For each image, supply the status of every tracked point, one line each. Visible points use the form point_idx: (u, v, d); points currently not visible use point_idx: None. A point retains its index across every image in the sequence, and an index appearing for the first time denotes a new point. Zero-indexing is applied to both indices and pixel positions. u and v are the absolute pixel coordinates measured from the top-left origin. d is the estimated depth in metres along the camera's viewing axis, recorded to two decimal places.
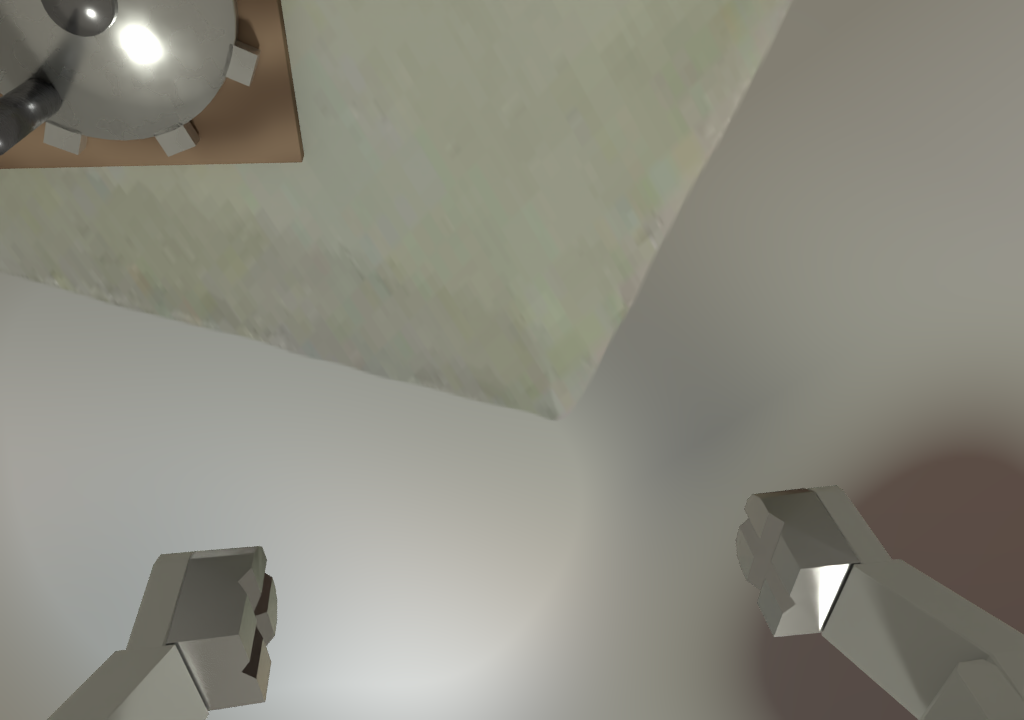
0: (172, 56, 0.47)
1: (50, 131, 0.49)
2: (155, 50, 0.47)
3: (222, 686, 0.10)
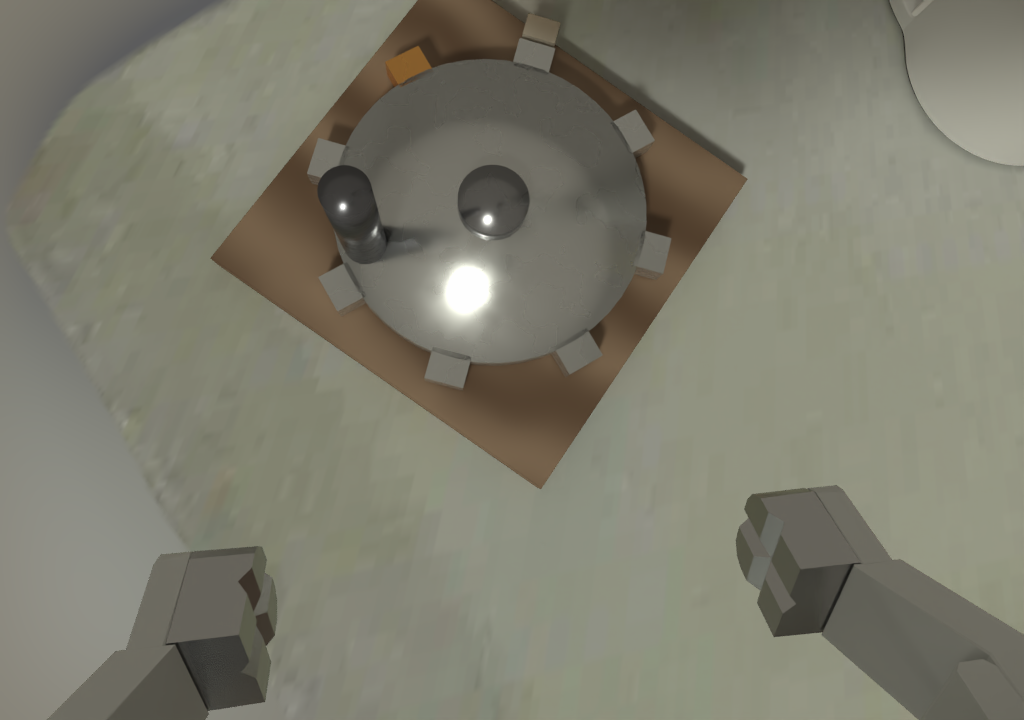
0: (522, 300, 0.40)
1: (336, 273, 0.39)
2: (512, 284, 0.40)
3: (222, 686, 0.10)
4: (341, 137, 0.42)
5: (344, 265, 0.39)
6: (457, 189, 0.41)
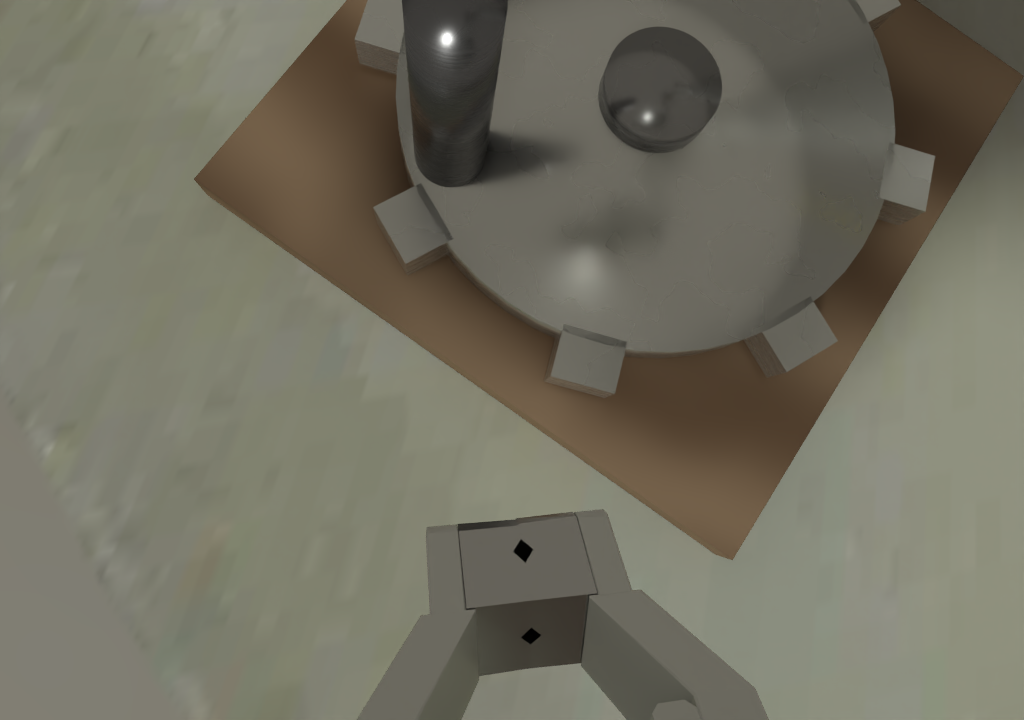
0: (707, 249, 0.24)
1: (403, 202, 0.24)
2: (689, 224, 0.24)
3: (498, 652, 0.11)
4: None
5: (416, 188, 0.24)
6: (597, 71, 0.25)
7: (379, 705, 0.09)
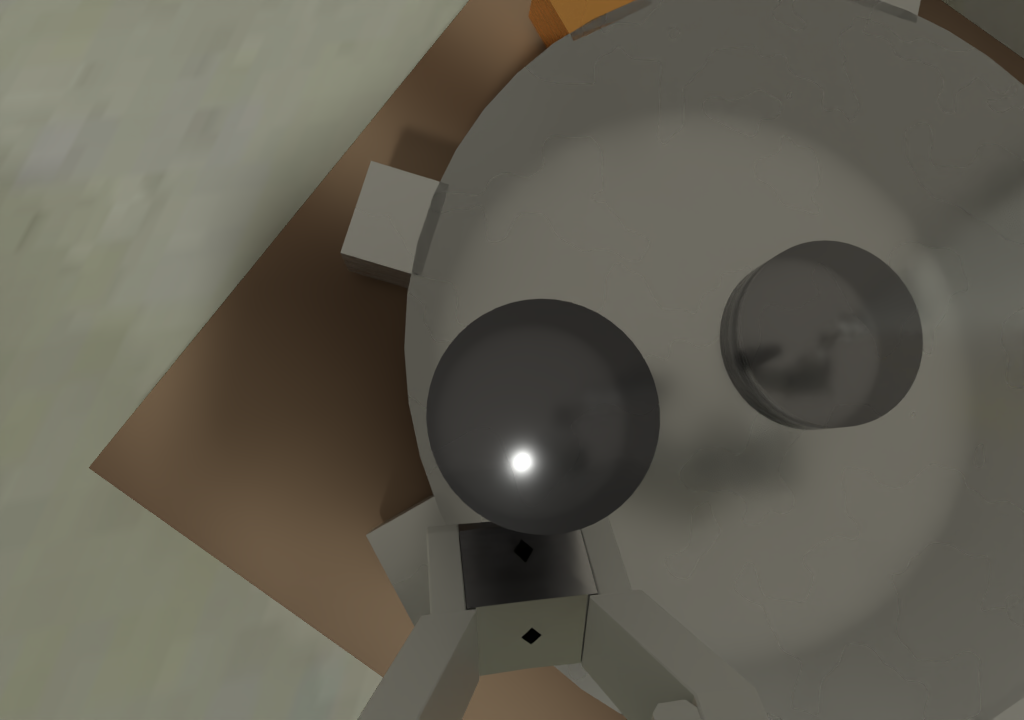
0: (891, 589, 0.16)
1: (415, 524, 0.15)
2: (863, 547, 0.16)
3: (499, 652, 0.11)
4: (418, 162, 0.18)
5: (436, 501, 0.15)
6: (717, 297, 0.16)
7: (380, 705, 0.09)
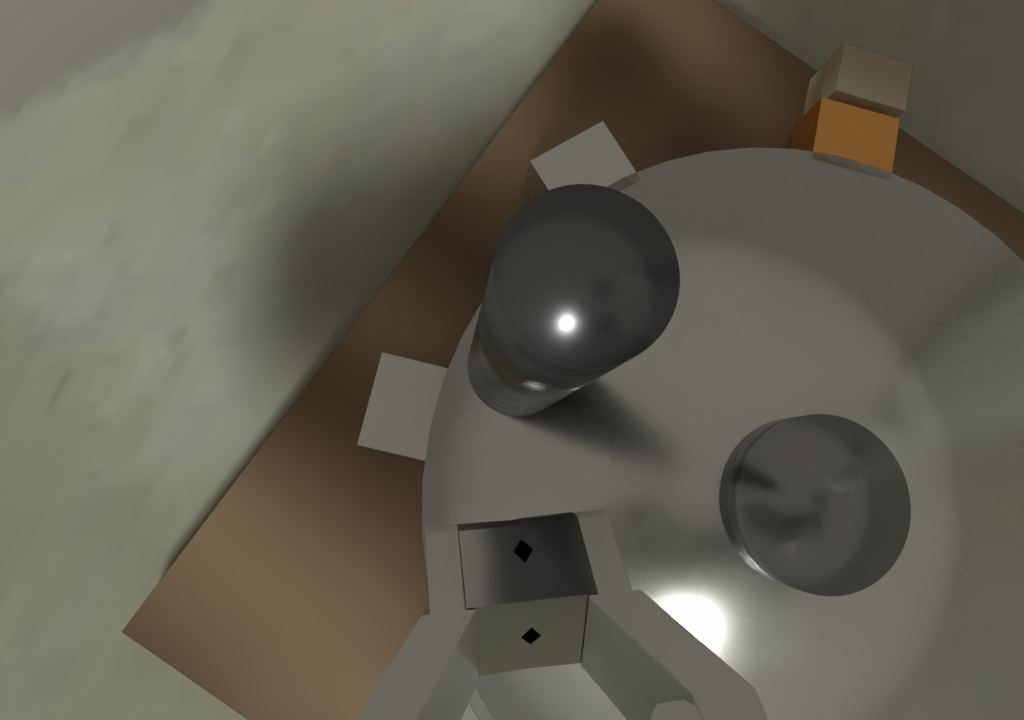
0: None
1: (419, 375, 0.17)
2: None
3: (498, 651, 0.11)
4: (430, 322, 0.19)
5: (446, 372, 0.17)
6: (762, 414, 0.17)
7: (379, 705, 0.09)
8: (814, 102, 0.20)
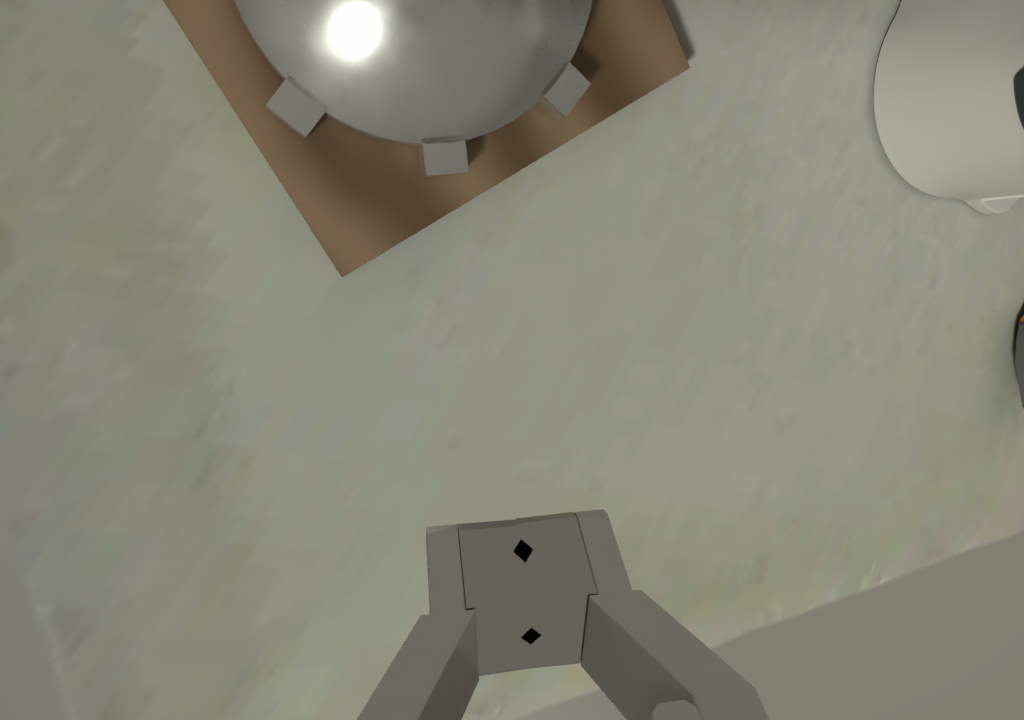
0: (327, 18, 0.33)
1: None
2: (340, 0, 0.33)
3: (498, 651, 0.11)
4: None
5: None
6: None
7: (379, 705, 0.09)
8: None
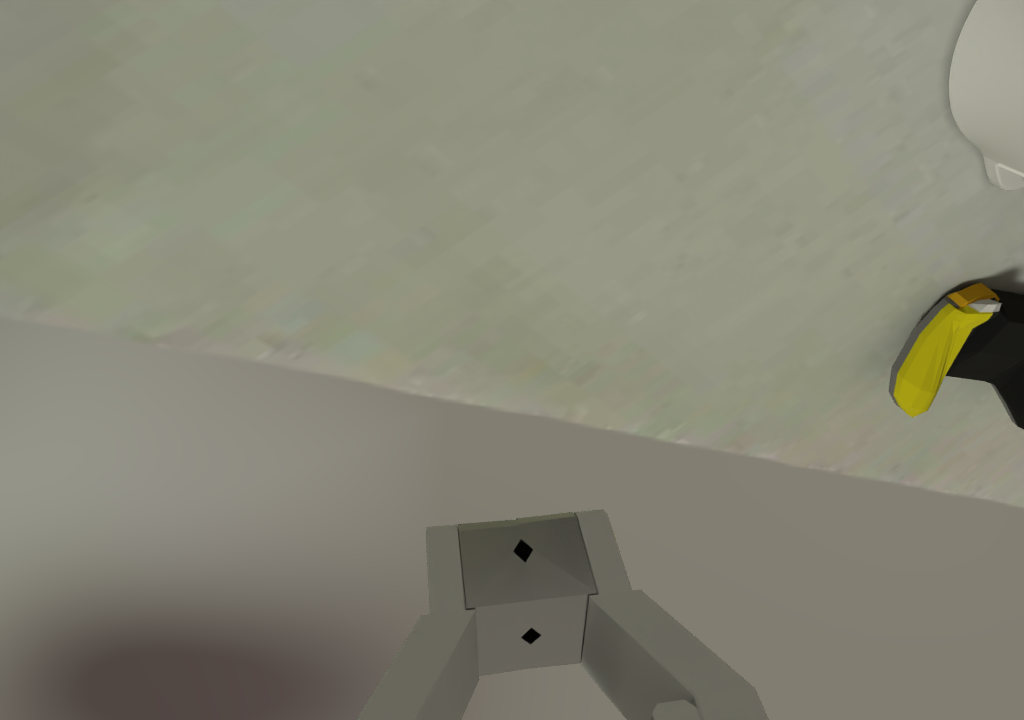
0: None
1: None
2: None
3: (499, 651, 0.11)
4: None
5: None
6: None
7: (379, 705, 0.09)
8: None
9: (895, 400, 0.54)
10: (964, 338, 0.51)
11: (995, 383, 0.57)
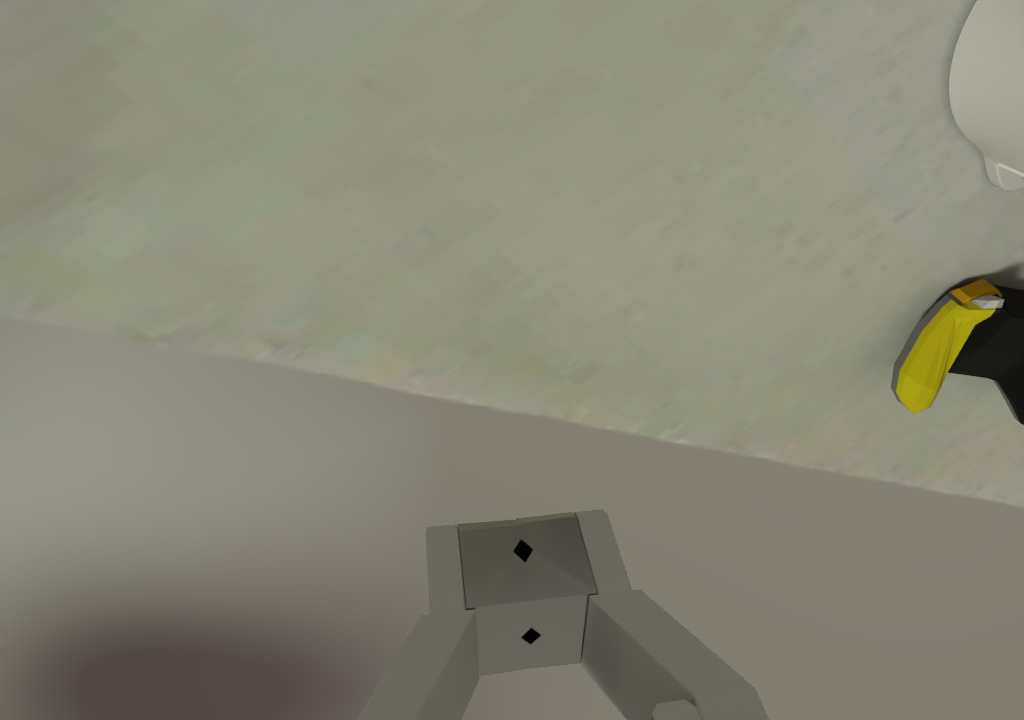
0: None
1: None
2: None
3: (498, 651, 0.11)
4: None
5: None
6: None
7: (379, 705, 0.09)
8: None
9: (897, 397, 0.54)
10: (967, 334, 0.51)
11: (998, 380, 0.57)
